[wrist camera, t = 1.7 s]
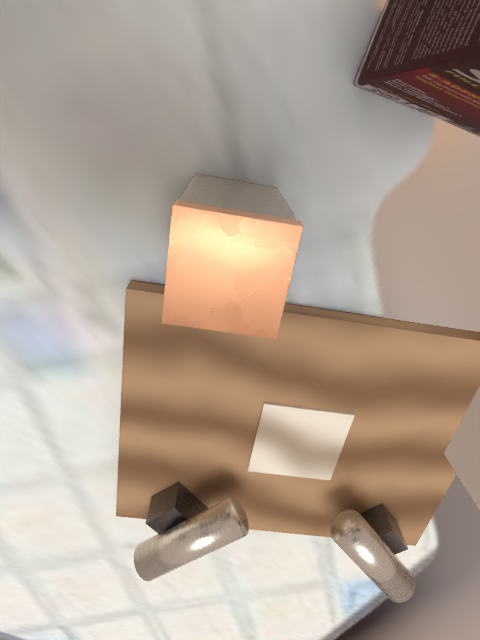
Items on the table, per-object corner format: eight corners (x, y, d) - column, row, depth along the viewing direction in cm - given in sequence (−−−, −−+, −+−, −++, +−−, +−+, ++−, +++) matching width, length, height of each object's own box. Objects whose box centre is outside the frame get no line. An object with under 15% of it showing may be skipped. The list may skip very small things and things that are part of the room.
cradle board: (131, 280, 27) (124, 290, 26) (514, 337, 30) (531, 350, 28) (120, 501, 37) (115, 519, 35) (409, 530, 39) (416, 548, 38)
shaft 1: (221, 457, 33) (219, 517, 28) (252, 488, 34) (255, 549, 29) (138, 503, 35) (123, 565, 30) (171, 529, 36) (161, 592, 32)
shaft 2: (312, 495, 35) (325, 556, 30) (358, 473, 34) (379, 533, 29) (361, 548, 38) (380, 610, 33) (404, 530, 37) (429, 592, 32)
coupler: (195, 172, 24) (172, 204, 15) (278, 187, 25) (303, 226, 16) (186, 253, 26) (161, 323, 17) (262, 265, 27) (276, 339, 18)
